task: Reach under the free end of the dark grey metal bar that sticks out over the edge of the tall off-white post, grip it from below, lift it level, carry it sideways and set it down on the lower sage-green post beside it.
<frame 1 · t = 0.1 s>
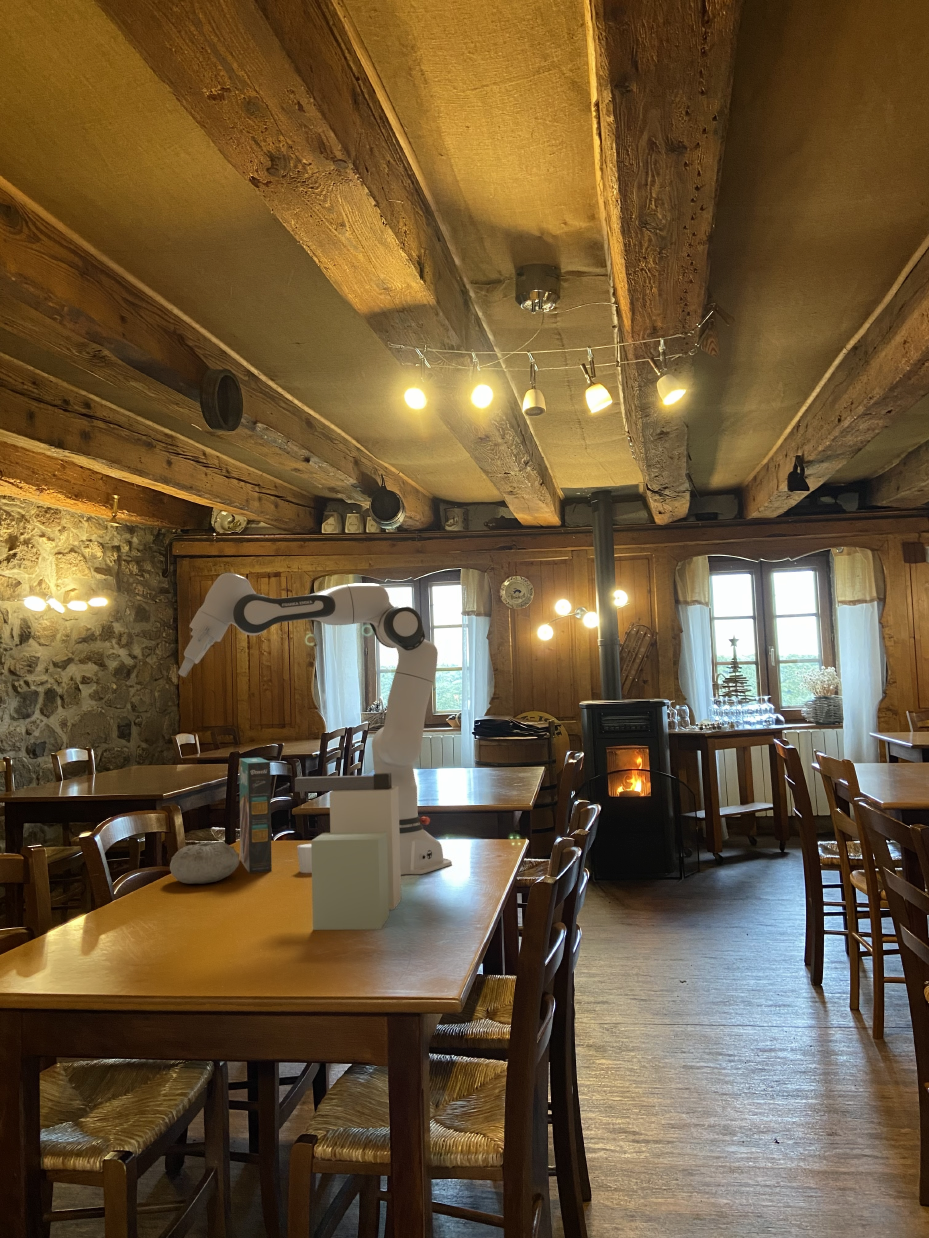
hand: (181, 675, 227), 54 cm above the table, tool tilted 30°, fingers open, 8 cm apart
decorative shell: (205, 882, 232), on the table
metal bar: (343, 789, 202), point 26 cm above the table, touching tall post
tall post: (367, 904, 200), on the table
low post: (351, 923, 184), on the table
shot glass: (310, 871, 241), on the table
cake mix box: (255, 866, 252), on the table
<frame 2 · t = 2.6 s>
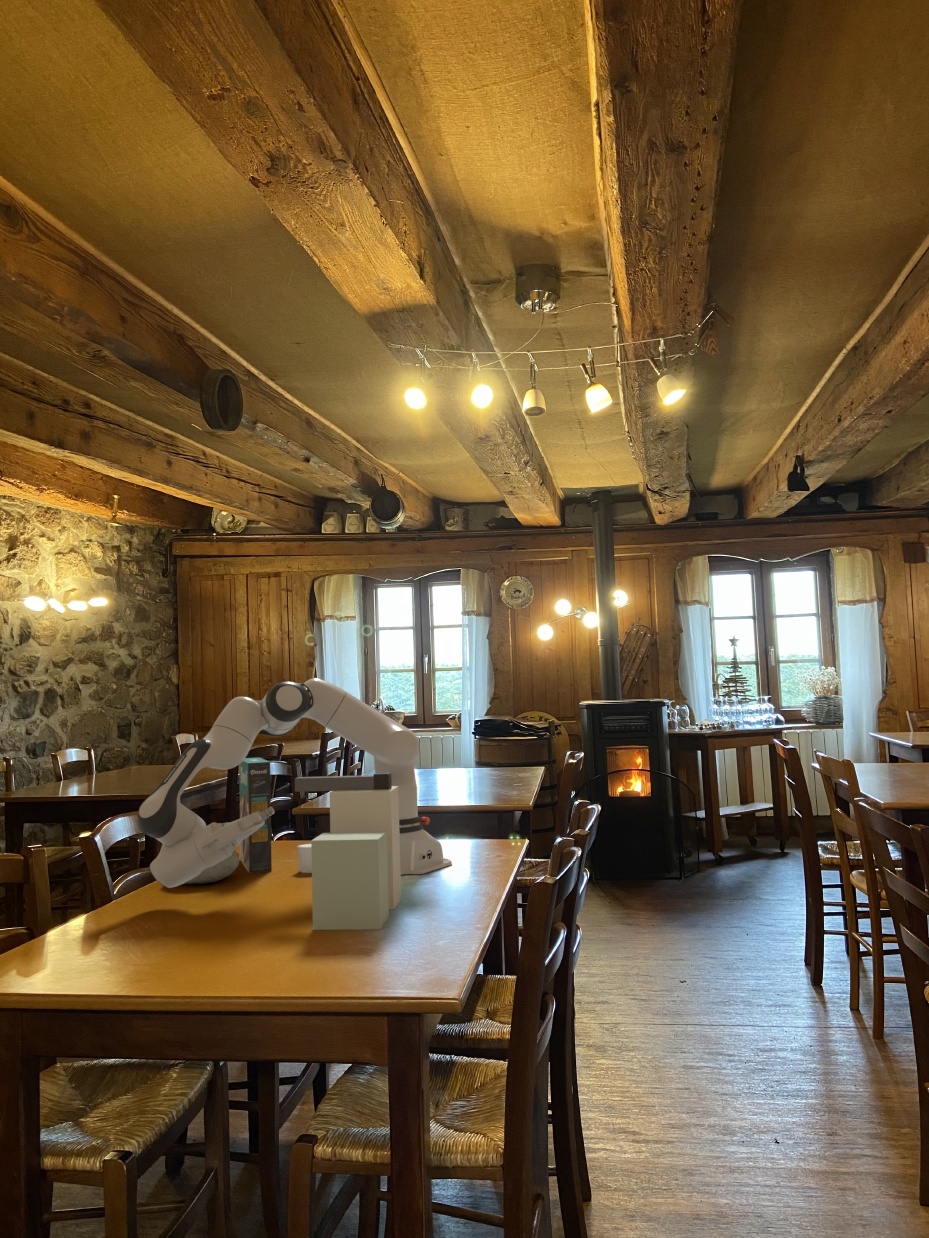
hand: (266, 812, 203), 21 cm above the table, tool pointing upward, fingers open, 8 cm apart
nothing on the table moved.
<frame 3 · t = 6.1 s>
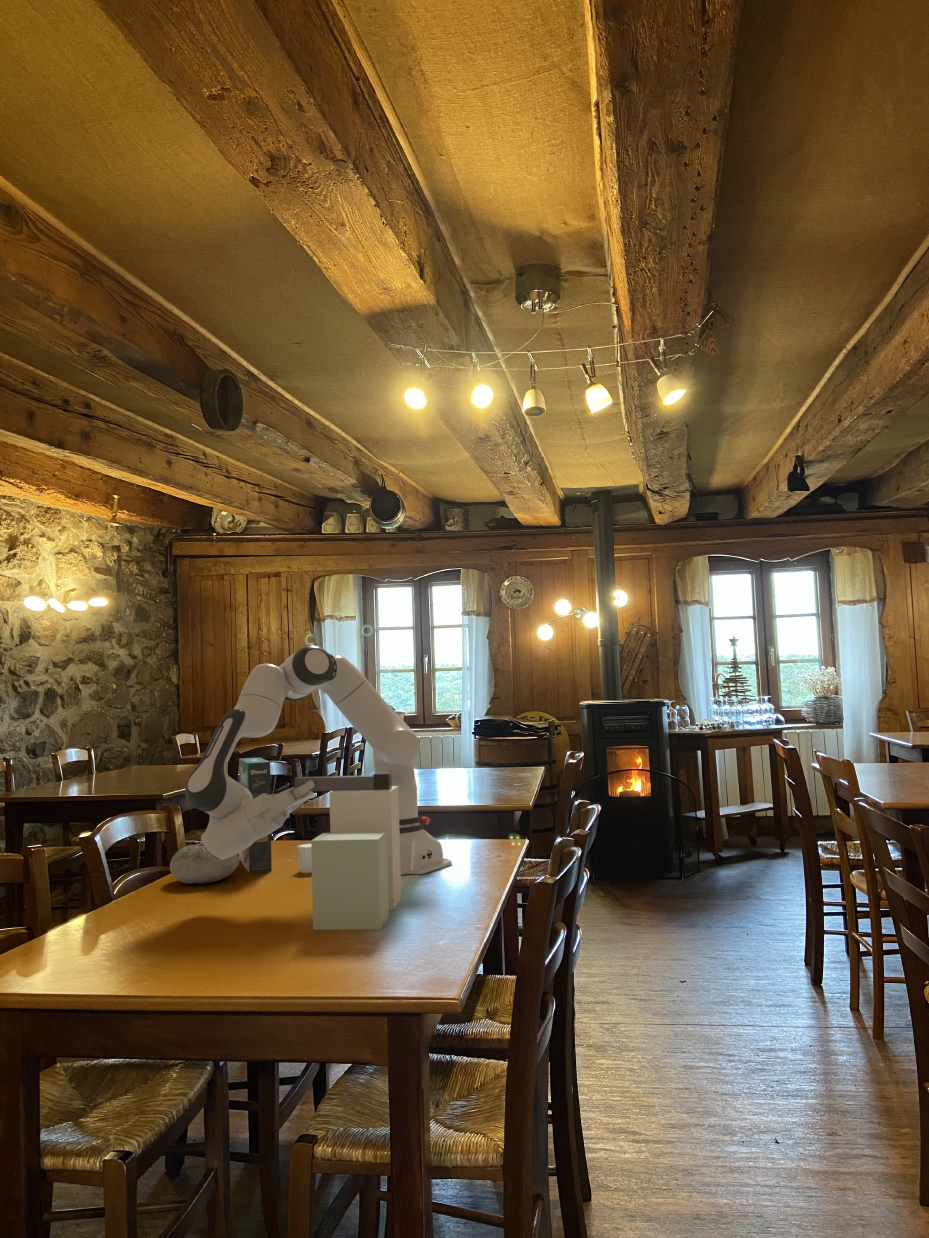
hand: (316, 781, 203), 28 cm above the table, tool pointing upward, fingers closed on metal bar, 3 cm apart
metal bar: (343, 789, 202), point 26 cm above the table, touching gripper, tall post
everything else where it was.
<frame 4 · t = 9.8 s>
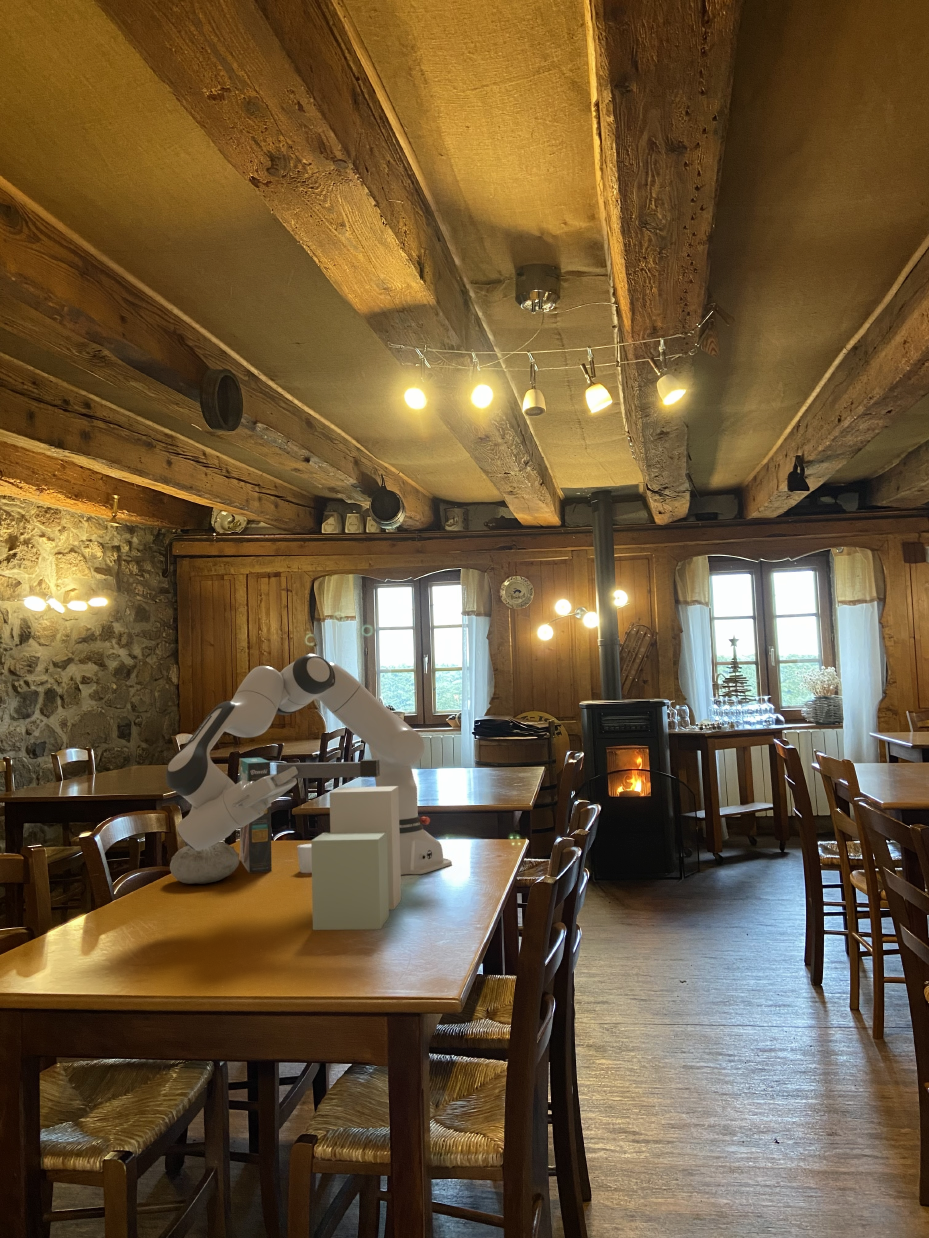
hand: (299, 768, 191), 32 cm above the table, tool pointing upward, fingers closed on metal bar, 3 cm apart
metal bar: (328, 776, 190), point 30 cm above the table, touching gripper
everything else where it was.
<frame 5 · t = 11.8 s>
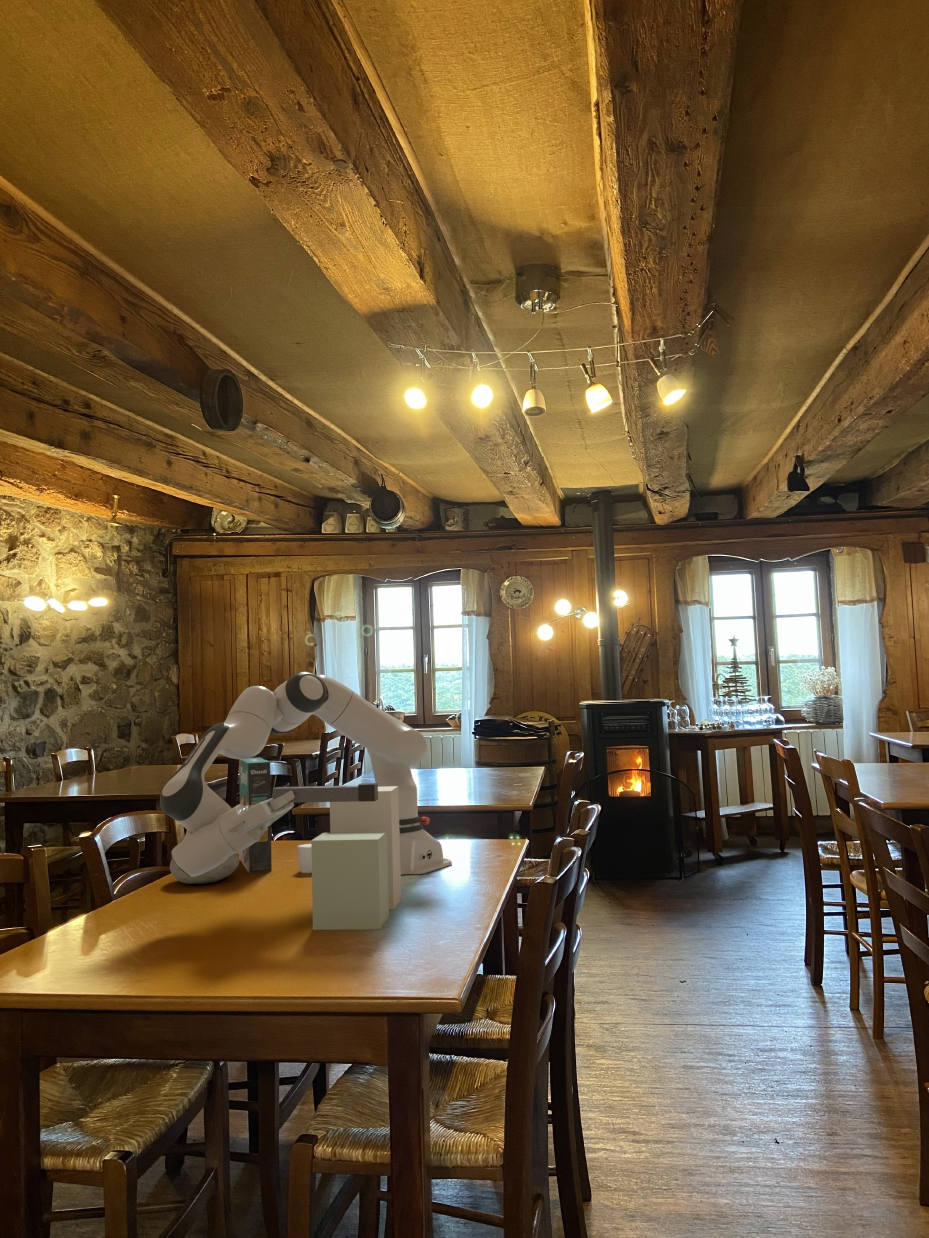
hand: (296, 792, 187), 27 cm above the table, tool pointing upward, fingers closed on metal bar, 3 cm apart
metal bar: (325, 801, 186), point 25 cm above the table, touching gripper
everything else where it was.
when the fingers open (21 cm above the table, at t = 13.3 s): metal bar drops 2 cm, resting on low post.
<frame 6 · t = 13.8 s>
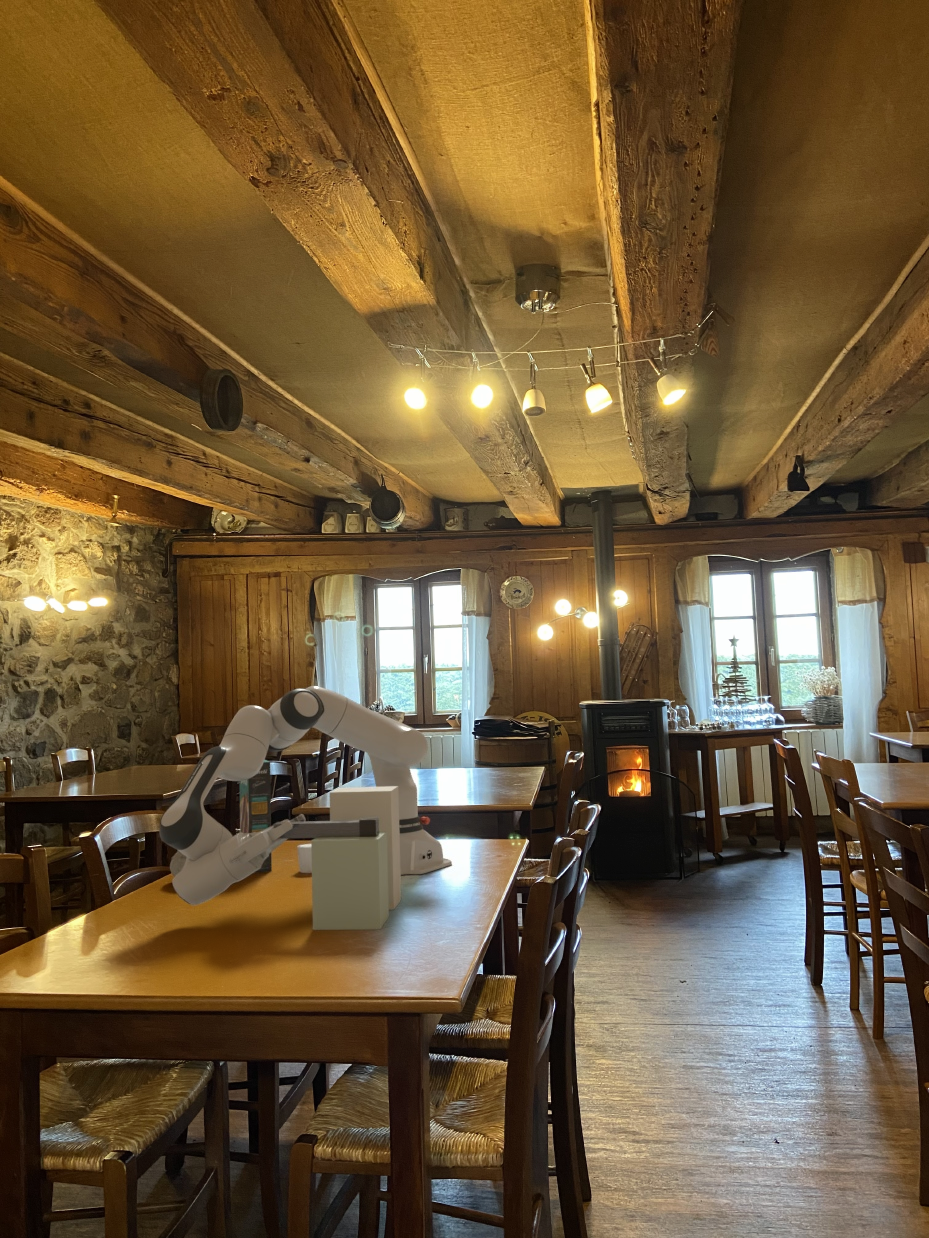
hand: (297, 820, 186), 21 cm above the table, tool pointing upward, fingers open, 8 cm apart
metal bar: (326, 836, 186), point 18 cm above the table, touching low post
everything else where it was.
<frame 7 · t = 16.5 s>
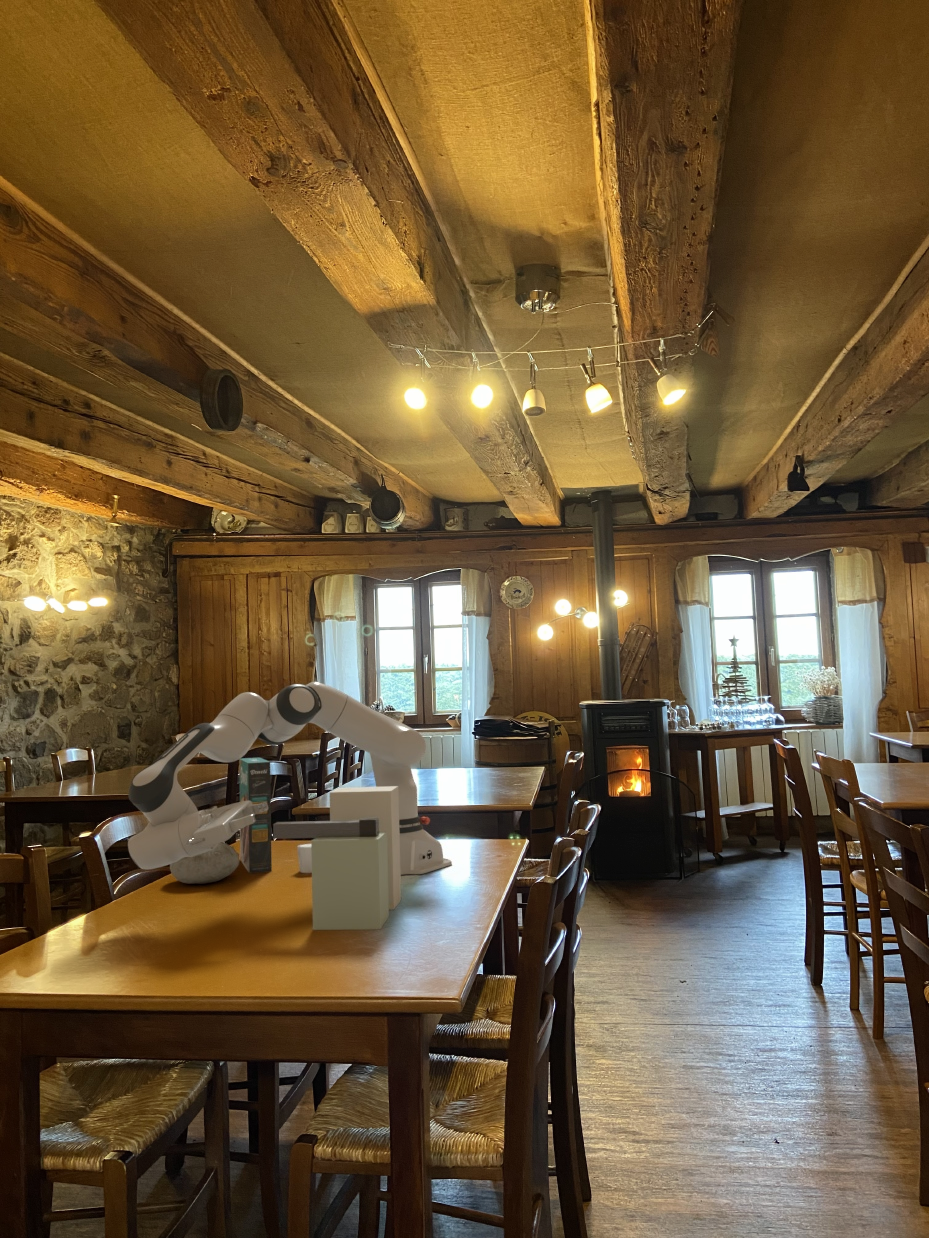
hand: (260, 811, 188), 23 cm above the table, tool pointing upward, fingers open, 8 cm apart
nothing on the table moved.
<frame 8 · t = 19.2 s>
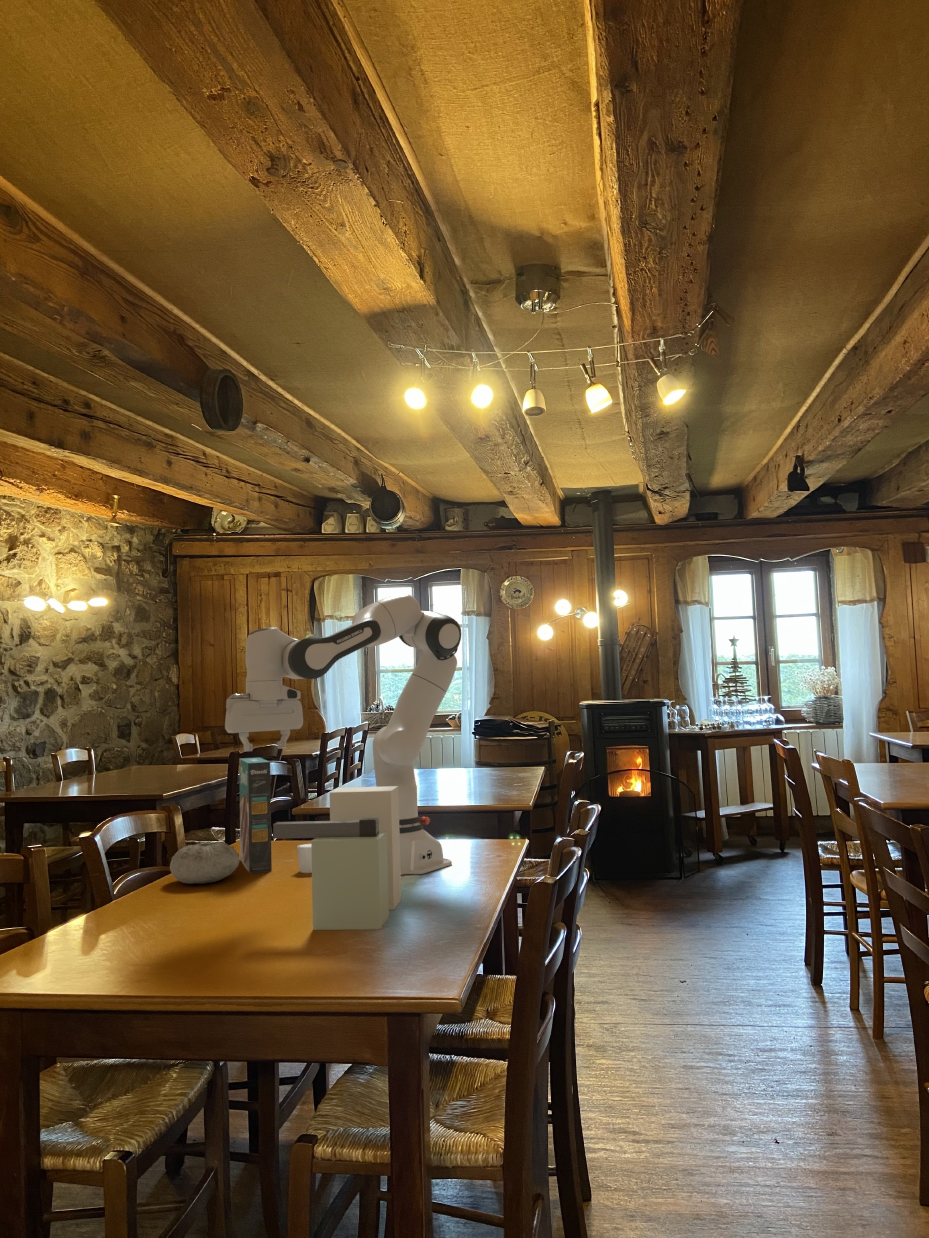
hand: (265, 749, 214), 35 cm above the table, tool pointing down, fingers open, 8 cm apart
nothing on the table moved.
at the end: metal bar 0.3 cm from the target spot on the low post, point 18.0 cm above the low post's base; metal bar touching low post; the gripper is holding nothing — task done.
